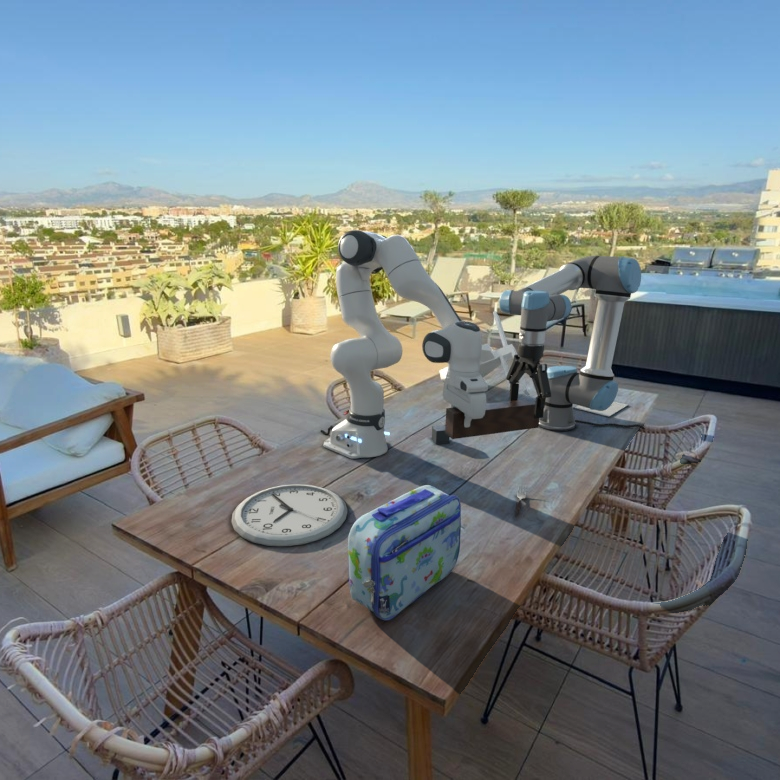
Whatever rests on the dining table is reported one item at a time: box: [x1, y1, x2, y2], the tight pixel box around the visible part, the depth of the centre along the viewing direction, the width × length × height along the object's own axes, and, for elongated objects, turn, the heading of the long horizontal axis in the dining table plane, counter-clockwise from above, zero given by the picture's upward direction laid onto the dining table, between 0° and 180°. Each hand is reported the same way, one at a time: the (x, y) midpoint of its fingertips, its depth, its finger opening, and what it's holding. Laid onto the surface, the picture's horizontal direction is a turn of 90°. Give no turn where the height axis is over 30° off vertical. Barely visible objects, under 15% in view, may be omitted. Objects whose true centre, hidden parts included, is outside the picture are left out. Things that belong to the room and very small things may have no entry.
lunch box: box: [347, 484, 462, 621], centre depth 107 cm, size 26×11×21 cm, turn 134°
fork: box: [515, 484, 528, 518], centre depth 145 cm, size 3×16×2 cm, turn 160°
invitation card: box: [573, 400, 629, 418], centre depth 226 cm, size 21×1×15 cm
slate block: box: [431, 424, 451, 445], centre depth 186 cm, size 5×5×5 cm
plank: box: [444, 398, 540, 440], centre depth 159 cm, size 30×5×8 cm, turn 110°
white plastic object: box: [438, 310, 531, 397], centre depth 245 cm, size 37×45×31 cm
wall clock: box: [231, 483, 348, 547], centre depth 138 cm, size 30×2×30 cm
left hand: (461, 422), depth 156 cm, fingers closed on plank, 5 cm apart
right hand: (525, 410), depth 163 cm, fingers open, 13 cm apart
